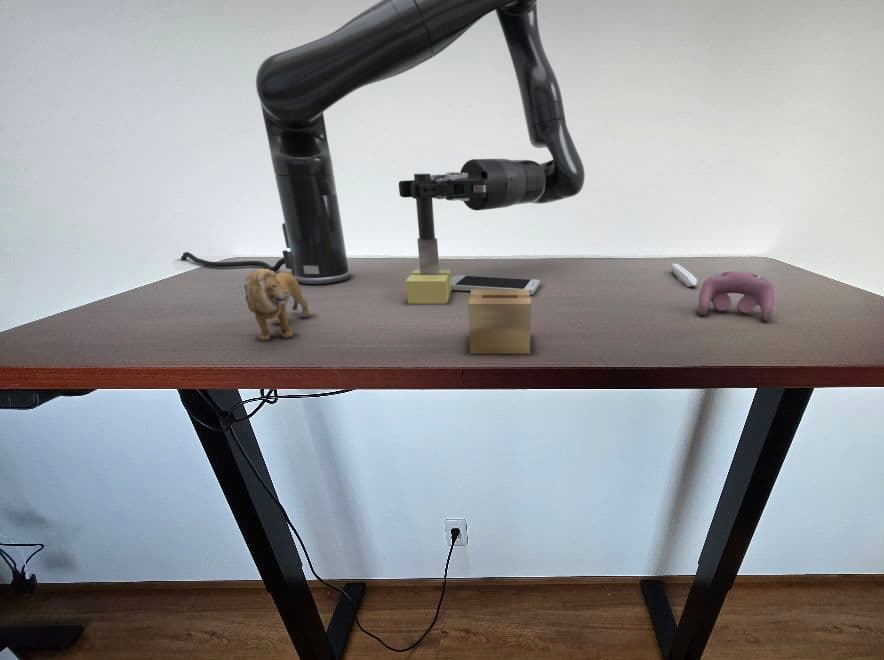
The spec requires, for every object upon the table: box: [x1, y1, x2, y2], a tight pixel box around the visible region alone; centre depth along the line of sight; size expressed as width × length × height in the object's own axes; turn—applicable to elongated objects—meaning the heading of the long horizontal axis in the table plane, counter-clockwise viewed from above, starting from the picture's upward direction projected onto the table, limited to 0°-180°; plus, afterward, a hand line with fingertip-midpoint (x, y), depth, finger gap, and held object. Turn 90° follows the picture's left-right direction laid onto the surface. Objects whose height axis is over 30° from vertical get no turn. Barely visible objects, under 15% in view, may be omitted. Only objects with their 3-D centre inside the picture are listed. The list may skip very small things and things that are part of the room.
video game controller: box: [698, 270, 775, 322], centre depth 69 cm, size 10×5×7 cm, turn 71°
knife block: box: [467, 290, 532, 355], centre depth 57 cm, size 7×6×6 cm
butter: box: [405, 269, 452, 305], centre depth 76 cm, size 6×7×4 cm
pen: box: [671, 263, 698, 288], centre depth 88 cm, size 2×14×2 cm, turn 178°
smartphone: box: [451, 274, 541, 296], centre depth 82 cm, size 7×16×1 cm, turn 77°
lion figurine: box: [244, 267, 311, 341], centre depth 61 cm, size 15×5×9 cm, turn 13°
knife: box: [413, 172, 440, 275], centre depth 74 cm, size 3×2×17 cm
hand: (406, 189), depth 69 cm, fingers closed on knife, 2 cm apart
